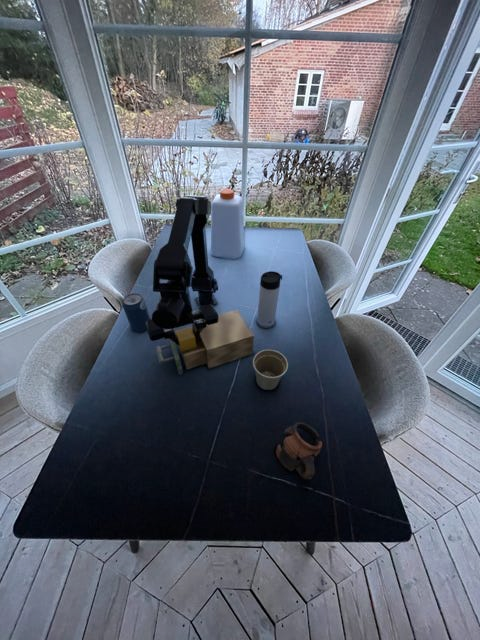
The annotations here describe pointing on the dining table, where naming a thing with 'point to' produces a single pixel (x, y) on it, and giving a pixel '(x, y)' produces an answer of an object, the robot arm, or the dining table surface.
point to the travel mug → (268, 298)
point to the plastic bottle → (227, 225)
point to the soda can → (136, 311)
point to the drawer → (185, 355)
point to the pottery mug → (299, 451)
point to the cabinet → (227, 339)
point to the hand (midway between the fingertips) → (186, 341)
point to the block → (186, 339)
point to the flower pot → (269, 368)
